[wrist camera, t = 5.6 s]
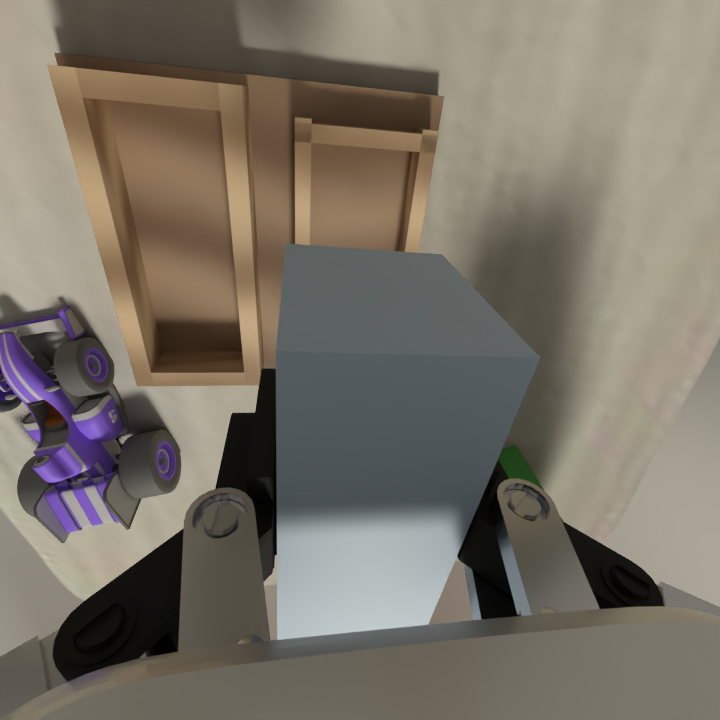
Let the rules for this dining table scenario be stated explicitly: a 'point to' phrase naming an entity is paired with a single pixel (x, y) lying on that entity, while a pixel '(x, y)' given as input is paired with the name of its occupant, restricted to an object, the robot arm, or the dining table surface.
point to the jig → (232, 198)
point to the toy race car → (79, 432)
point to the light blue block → (383, 432)
